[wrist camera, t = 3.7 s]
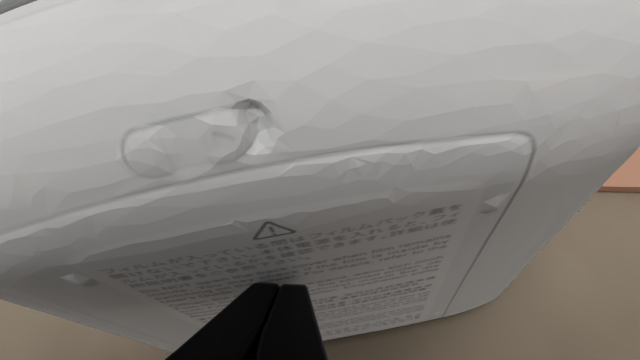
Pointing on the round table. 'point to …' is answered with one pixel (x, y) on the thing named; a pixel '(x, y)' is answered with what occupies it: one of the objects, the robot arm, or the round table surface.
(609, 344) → the round table surface
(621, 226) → the round table surface
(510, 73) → the photo printer
